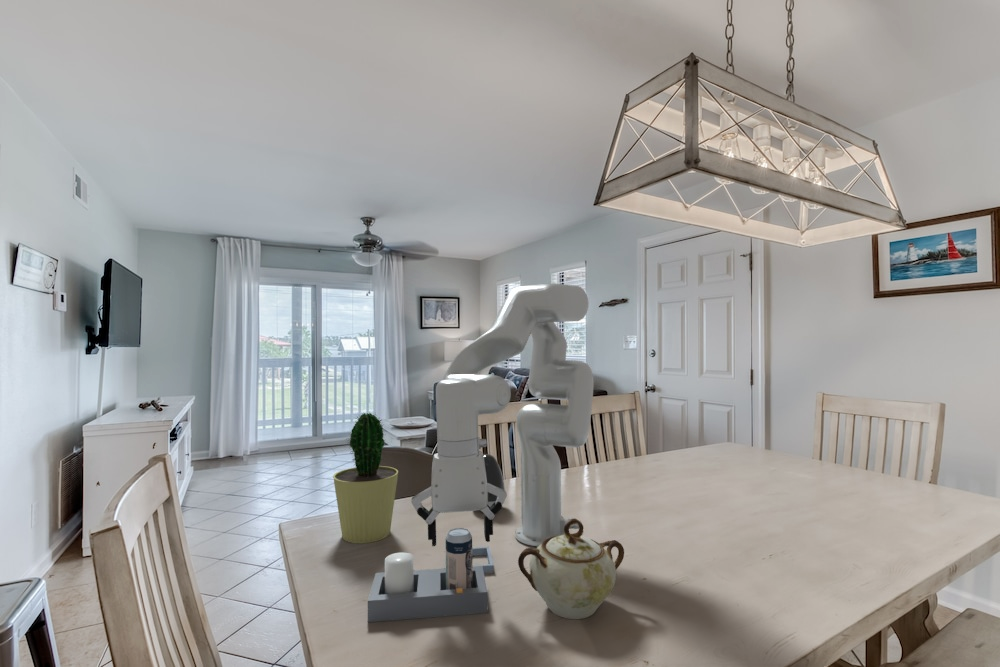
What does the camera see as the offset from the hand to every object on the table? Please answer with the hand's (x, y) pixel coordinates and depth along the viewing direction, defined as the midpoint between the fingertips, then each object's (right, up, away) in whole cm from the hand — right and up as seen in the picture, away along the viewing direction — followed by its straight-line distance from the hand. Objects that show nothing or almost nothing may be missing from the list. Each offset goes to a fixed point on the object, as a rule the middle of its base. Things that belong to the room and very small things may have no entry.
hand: (460, 540), depth 88 cm
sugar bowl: (+20, -10, -4) cm, 23 cm away
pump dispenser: (+3, -12, +48) cm, 49 cm away
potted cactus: (-26, -12, +30) cm, 41 cm away
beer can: (0, -10, -1) cm, 10 cm away
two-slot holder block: (-6, -10, -2) cm, 12 cm away
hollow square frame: (+1, -11, +13) cm, 17 cm away
